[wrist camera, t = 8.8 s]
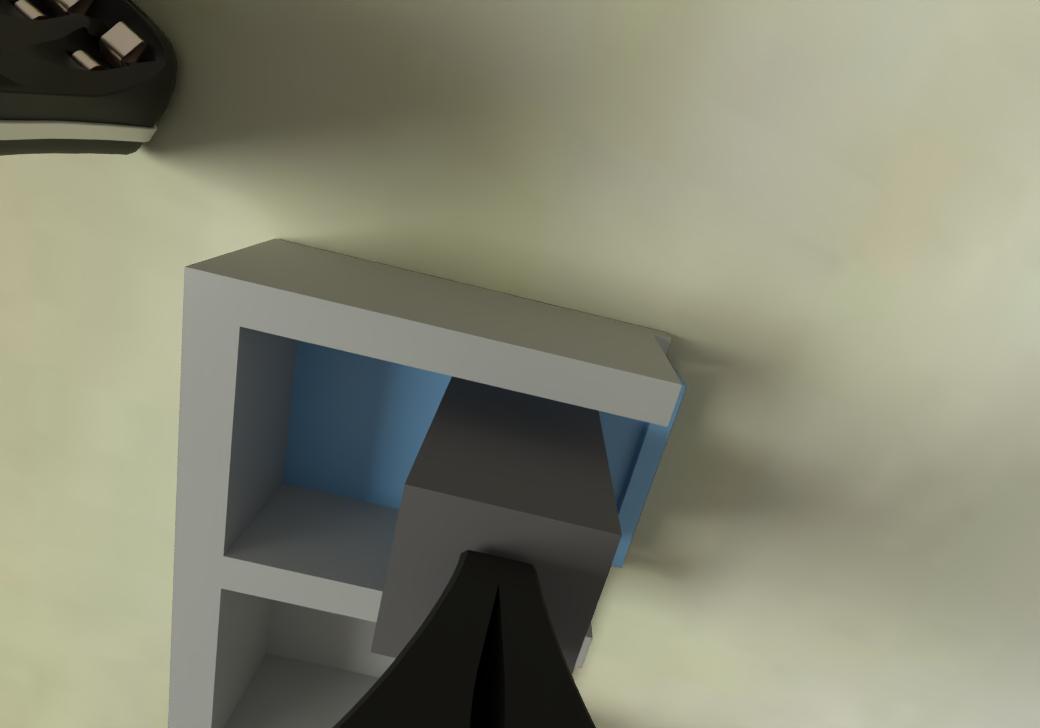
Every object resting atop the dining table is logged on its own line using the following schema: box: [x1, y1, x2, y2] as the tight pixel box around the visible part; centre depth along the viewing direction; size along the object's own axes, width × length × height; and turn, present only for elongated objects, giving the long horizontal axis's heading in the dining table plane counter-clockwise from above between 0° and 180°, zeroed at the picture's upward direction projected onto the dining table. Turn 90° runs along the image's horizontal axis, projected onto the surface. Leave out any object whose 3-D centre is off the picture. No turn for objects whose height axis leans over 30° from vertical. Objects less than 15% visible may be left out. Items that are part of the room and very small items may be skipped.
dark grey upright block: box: [371, 376, 622, 675], centre depth 14 cm, size 4×4×6 cm
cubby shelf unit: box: [168, 239, 686, 728], centre depth 17 cm, size 15×12×4 cm
